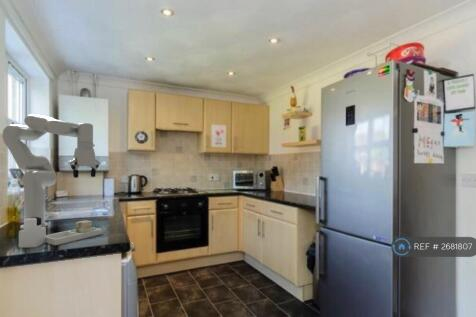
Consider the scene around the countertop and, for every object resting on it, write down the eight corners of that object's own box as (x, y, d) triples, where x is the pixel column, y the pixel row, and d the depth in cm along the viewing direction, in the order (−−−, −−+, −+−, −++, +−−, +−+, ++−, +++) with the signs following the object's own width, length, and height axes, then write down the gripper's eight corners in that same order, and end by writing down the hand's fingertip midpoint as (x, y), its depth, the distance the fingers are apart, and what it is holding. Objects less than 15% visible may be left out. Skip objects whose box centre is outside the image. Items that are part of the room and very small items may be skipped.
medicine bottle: (29, 243, 125) (29, 216, 125) (46, 242, 125) (46, 216, 126) (18, 247, 118) (18, 219, 118) (35, 247, 118) (36, 219, 118)
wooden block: (76, 234, 138) (76, 222, 138) (85, 232, 142) (85, 220, 142) (82, 235, 136) (82, 223, 136) (91, 233, 140) (91, 221, 140)
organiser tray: (41, 241, 127) (41, 236, 127) (87, 231, 147) (87, 226, 147) (55, 245, 122) (55, 239, 122) (102, 234, 141) (102, 229, 141)
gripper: (95, 146, 162) (95, 176, 161) (64, 145, 146) (64, 177, 146) (103, 146, 158) (103, 176, 158) (73, 144, 143) (72, 178, 142)
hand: (84, 177), depth 152 cm, fingers open, 9 cm apart
